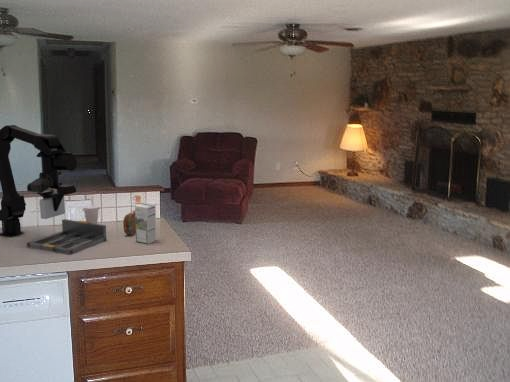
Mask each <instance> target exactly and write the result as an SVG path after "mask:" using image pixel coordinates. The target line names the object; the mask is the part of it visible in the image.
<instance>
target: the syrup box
mask: <svg viewBox="0 0 510 382" xmlns="http://www.w3.org/2000/svg"><path fill="white" fill-rule="evenodd" d="M134 210H135V221H136V233H135V242H136V243H141V244H146V245H148V244H151V243H154V242H156V241H157V232H156V231H157V229H156V226H157V225H156V223H157V220H156V210H157V209H156V204H153V203H148V202H147V203H145V202H141V203H139V204H136V205H134Z"/></svg>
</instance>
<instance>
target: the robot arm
mask: <svg viewBox="0 0 510 382" xmlns="http://www.w3.org/2000/svg"><path fill="white" fill-rule="evenodd" d="M15 139H17V140H18V141H22V142H25V143H28V144H31V145H32V146H33V147H34V149H36V150H38V151H39V152H38V153H37V155H36V158H40V159H41V172H39V174H38V175H39V177H38V178H36V179H34V180H33V181H32V182H30V183H28V184H27V185H26V189H27V192H33V193H36V194H37V195H39V196H40V197H42V199H45V198H49V197H52V198H53V206H54V211H57V210H58V208H59V205H60V203H61V200H62V199H63V197H64V198H65V196H67V195H71V194H75V193H77V187H76V185H75V184H63V183H62V182H61V181H60V176H61V175H62V172H61V171H63V172H74V171H75V170H76V169H77V166H78V161H77V158H76V157H75V155H73V152H71V151H70V152H69V151H68V152H67V151H66V149H65V147H64V145H63V144H62V143H61V141H60V139H59V137H58V136H57V135H55V134H49V133H48V134H46V133H38V132H34V131H33V130H28V129H25V128H23V127H20V126H18V125H15V124H9V125H4V126H3V127H1V129H0V187H1V191H2V197H1V199H0V200H1V201H0V222H1V230H2V232H0V236H5V237H9V238H10V237H15V236H17V235H21V234H24V231H22V229H21V222H20V219H21V218H23V217H24V214H25V211H26V210H27V209H26V206H27V203H26V201H25V196H24V195H20V194H19V193H18V191H17V187H16V183H15V178H14V174H13V169H12V166H11V162H10V157H9V156H10V152H11V143H12V142H13V141H15Z"/></svg>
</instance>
